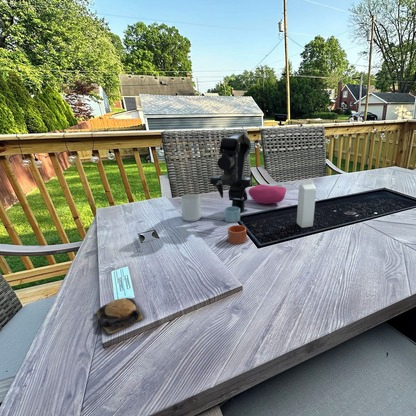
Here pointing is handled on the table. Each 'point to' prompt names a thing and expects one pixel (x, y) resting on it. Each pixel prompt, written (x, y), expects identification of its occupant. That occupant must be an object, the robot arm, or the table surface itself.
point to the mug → (191, 207)
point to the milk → (306, 203)
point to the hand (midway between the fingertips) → (231, 198)
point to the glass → (232, 214)
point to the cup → (237, 234)
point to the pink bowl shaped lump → (267, 194)
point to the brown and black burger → (118, 315)
